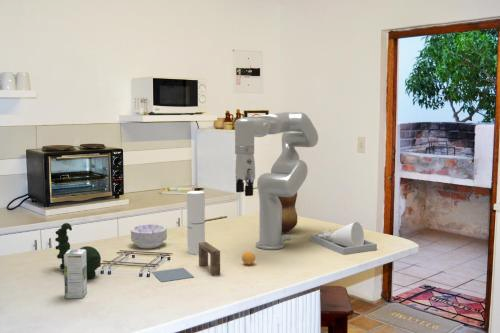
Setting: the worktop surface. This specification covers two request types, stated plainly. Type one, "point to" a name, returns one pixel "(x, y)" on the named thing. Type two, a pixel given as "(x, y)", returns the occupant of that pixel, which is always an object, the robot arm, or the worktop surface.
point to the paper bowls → (148, 235)
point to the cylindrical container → (195, 220)
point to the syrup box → (75, 273)
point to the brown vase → (288, 212)
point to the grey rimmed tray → (348, 250)
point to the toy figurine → (91, 253)
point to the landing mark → (172, 274)
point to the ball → (248, 257)
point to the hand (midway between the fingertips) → (244, 193)
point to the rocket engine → (346, 235)
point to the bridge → (214, 257)
